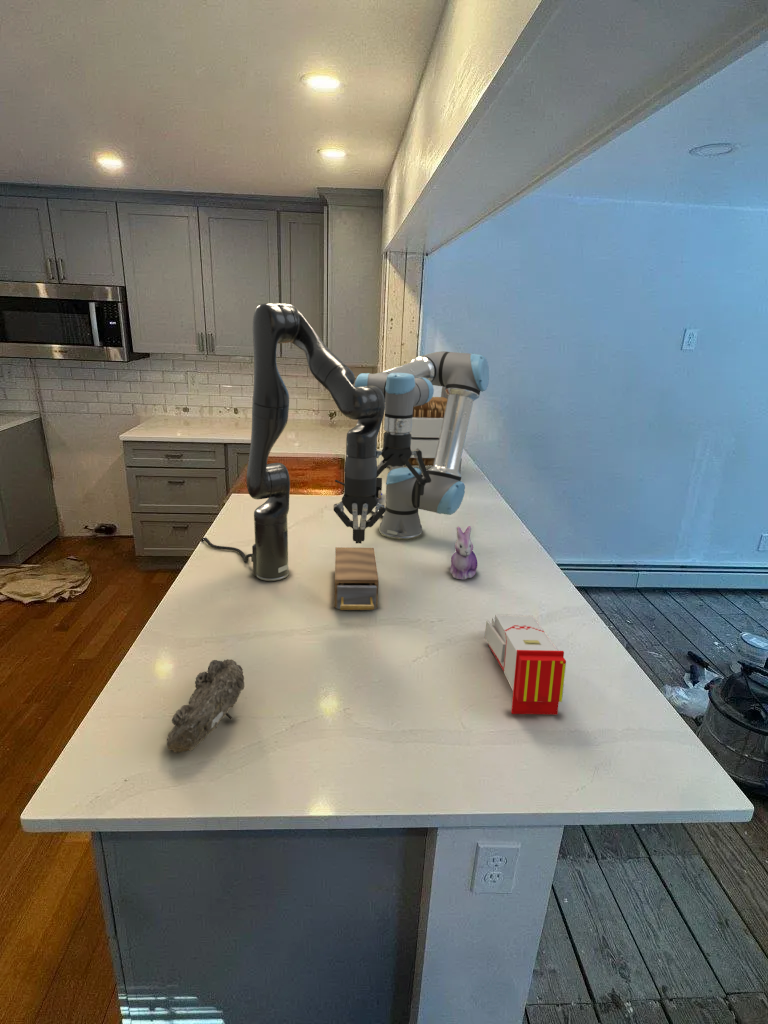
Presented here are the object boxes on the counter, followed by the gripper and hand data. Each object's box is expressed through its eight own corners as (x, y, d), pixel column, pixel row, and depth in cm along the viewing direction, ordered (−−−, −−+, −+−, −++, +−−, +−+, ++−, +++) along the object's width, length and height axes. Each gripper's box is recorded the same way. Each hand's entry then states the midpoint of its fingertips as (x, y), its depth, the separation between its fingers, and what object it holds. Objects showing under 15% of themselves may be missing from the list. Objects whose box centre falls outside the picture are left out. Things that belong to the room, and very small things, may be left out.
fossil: (192, 660, 117) (244, 628, 112) (224, 691, 120) (276, 661, 115) (142, 746, 98) (202, 712, 93) (182, 779, 101) (242, 748, 96)
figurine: (459, 583, 165) (464, 535, 160) (440, 569, 174) (444, 523, 169) (486, 577, 169) (491, 531, 164) (466, 564, 178) (470, 519, 173)
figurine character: (382, 507, 229) (381, 492, 243) (383, 490, 226) (382, 475, 239) (365, 506, 229) (366, 491, 242) (366, 489, 226) (366, 475, 239)
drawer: (376, 619, 142) (377, 597, 140) (336, 619, 142) (337, 597, 140) (371, 575, 166) (372, 555, 164) (337, 575, 165) (337, 555, 163)
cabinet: (377, 607, 150) (378, 579, 147) (334, 607, 149) (335, 579, 146) (372, 573, 170) (373, 547, 167) (335, 572, 169) (335, 547, 166)
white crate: (382, 463, 289) (386, 382, 275) (445, 464, 293) (451, 384, 279) (390, 482, 257) (394, 392, 243) (460, 483, 261) (468, 394, 247)
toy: (530, 600, 137) (574, 657, 108) (525, 651, 140) (567, 720, 111) (480, 599, 137) (511, 656, 107) (477, 651, 139) (506, 719, 110)
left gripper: (331, 477, 128) (330, 548, 134) (390, 478, 129) (386, 548, 135) (332, 468, 135) (331, 536, 141) (387, 469, 136) (384, 536, 142)
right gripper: (353, 435, 147) (351, 512, 154) (446, 435, 152) (439, 510, 159) (349, 429, 154) (347, 503, 161) (438, 429, 159) (432, 501, 166)
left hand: (358, 542), depth 138 cm, fingers closed
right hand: (393, 506), depth 160 cm, fingers open, 13 cm apart
